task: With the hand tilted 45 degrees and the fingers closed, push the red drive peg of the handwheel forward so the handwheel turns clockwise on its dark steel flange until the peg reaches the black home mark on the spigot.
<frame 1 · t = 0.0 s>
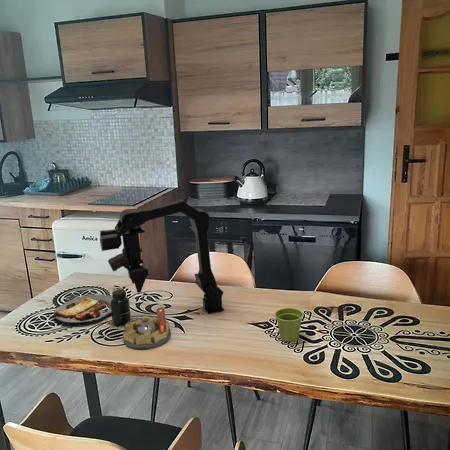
hand: (136, 287, 161), 15 cm above the table, tool pointing down, fingers open, 9 cm apart
supplement bottle: (122, 322, 168), on the table
handwheel: (145, 320, 154), point 6 cm above the table, hinge at 50.0°
food plate: (87, 312, 178), on the table
plant pot: (289, 338, 151), on the table
flange: (147, 337, 156), on the table
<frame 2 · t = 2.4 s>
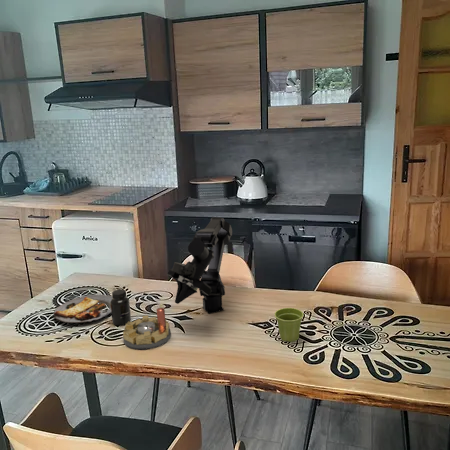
hand: (176, 303, 155), 11 cm above the table, tool tilted 45°, fingers closed
nothing on the table moved.
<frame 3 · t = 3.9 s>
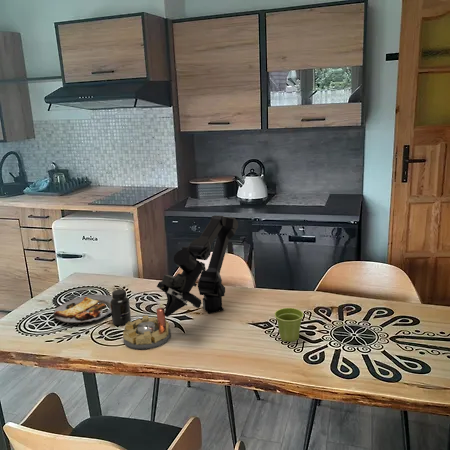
hand: (165, 316, 152), 8 cm above the table, tool tilted 45°, fingers closed, pressing on handwheel
handwheel: (145, 320, 154), point 6 cm above the table, hinge at 49.8°, touching gripper
everything else where it was.
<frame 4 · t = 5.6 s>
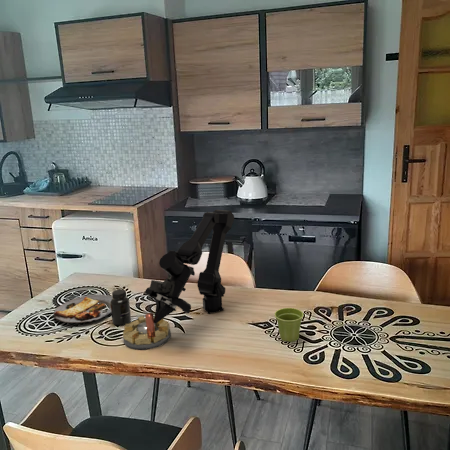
hand: (154, 322, 148), 8 cm above the table, tool tilted 45°, fingers closed, pressing on handwheel
handwheel: (145, 320, 154), point 6 cm above the table, hinge at 3.1°, touching gripper
everything else where it was.
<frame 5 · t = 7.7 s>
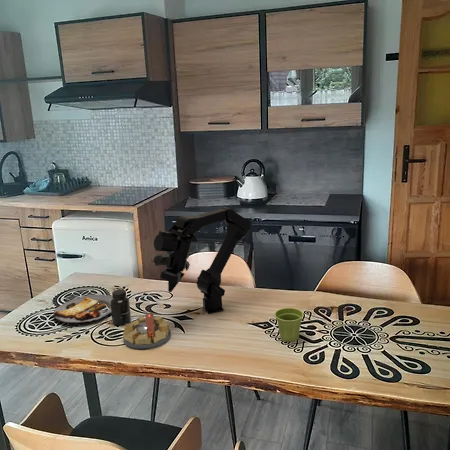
hand: (169, 291, 164), 12 cm above the table, tool tilted 20°, fingers closed
handwheel: (145, 320, 154), point 6 cm above the table, hinge at 3.1°
everything else where it was.
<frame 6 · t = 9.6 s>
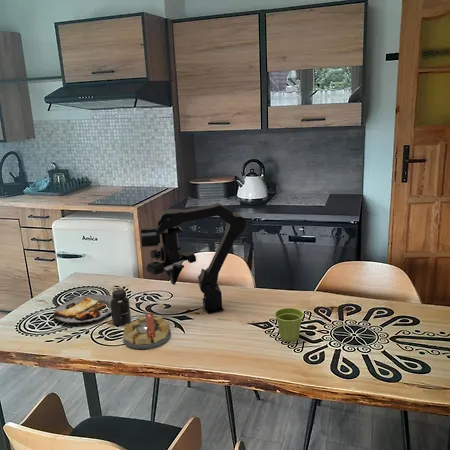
hand: (173, 284, 169), 12 cm above the table, tool pointing down, fingers closed
nothing on the table moved.
at the end: handwheel at +3° (first picture: +50°) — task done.
